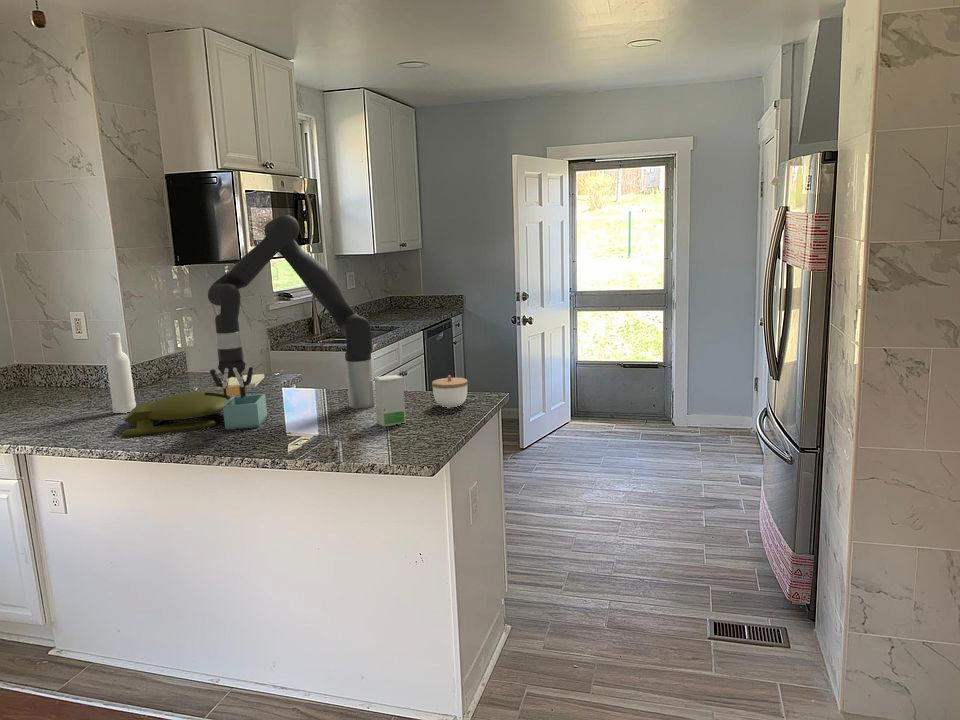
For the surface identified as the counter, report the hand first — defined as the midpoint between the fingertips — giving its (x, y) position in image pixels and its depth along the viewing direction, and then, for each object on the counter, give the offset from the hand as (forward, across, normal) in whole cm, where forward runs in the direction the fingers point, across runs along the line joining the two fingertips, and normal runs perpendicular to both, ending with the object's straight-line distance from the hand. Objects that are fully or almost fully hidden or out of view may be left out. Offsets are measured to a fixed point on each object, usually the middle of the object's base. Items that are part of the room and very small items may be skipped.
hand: (235, 398), depth 231 cm
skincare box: (+12, -49, +3) cm, 51 cm away
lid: (-2, 0, -8) cm, 8 cm away
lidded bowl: (+12, -70, -15) cm, 73 cm away
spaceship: (+12, +24, -22) cm, 34 cm away
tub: (+11, 0, -13) cm, 17 cm away
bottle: (+12, +52, -44) cm, 69 cm away
